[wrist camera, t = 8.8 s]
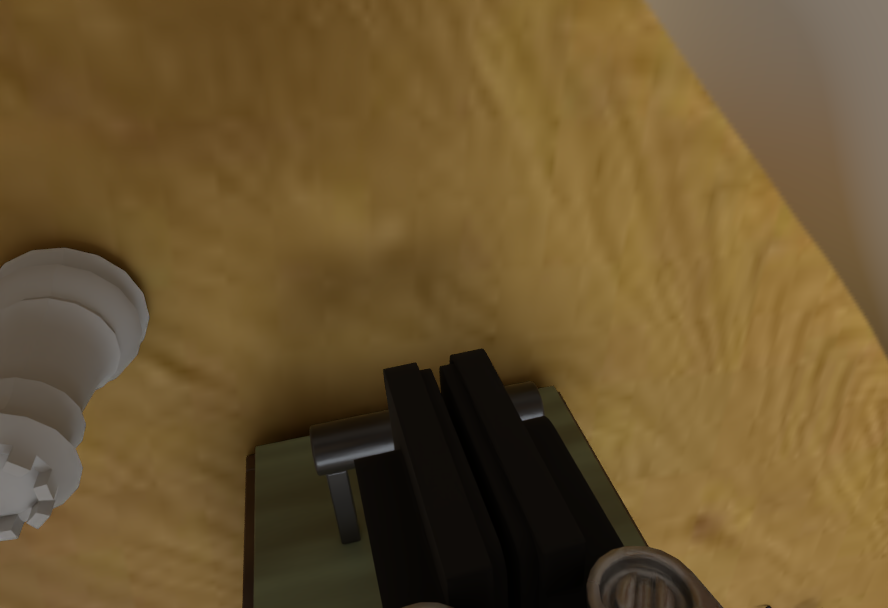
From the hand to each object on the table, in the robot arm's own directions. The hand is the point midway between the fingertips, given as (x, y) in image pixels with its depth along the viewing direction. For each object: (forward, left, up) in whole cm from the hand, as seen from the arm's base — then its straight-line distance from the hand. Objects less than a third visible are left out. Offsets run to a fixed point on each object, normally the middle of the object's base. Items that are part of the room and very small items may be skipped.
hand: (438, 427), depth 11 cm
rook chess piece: (-7, -7, -12) cm, 15 cm away
